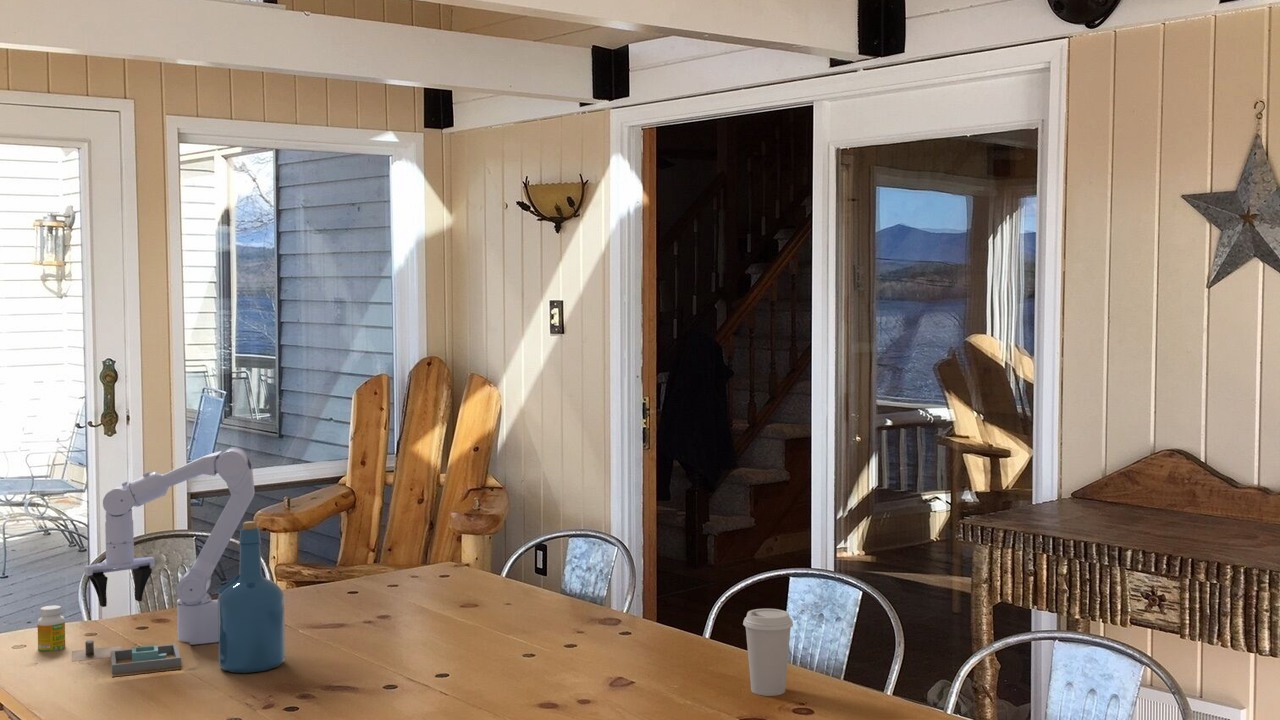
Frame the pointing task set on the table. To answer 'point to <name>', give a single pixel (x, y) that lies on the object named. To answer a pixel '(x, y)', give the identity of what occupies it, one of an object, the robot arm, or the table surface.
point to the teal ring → (146, 653)
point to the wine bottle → (250, 613)
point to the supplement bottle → (51, 629)
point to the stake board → (97, 653)
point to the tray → (145, 664)
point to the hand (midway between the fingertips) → (120, 603)
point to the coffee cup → (768, 650)
